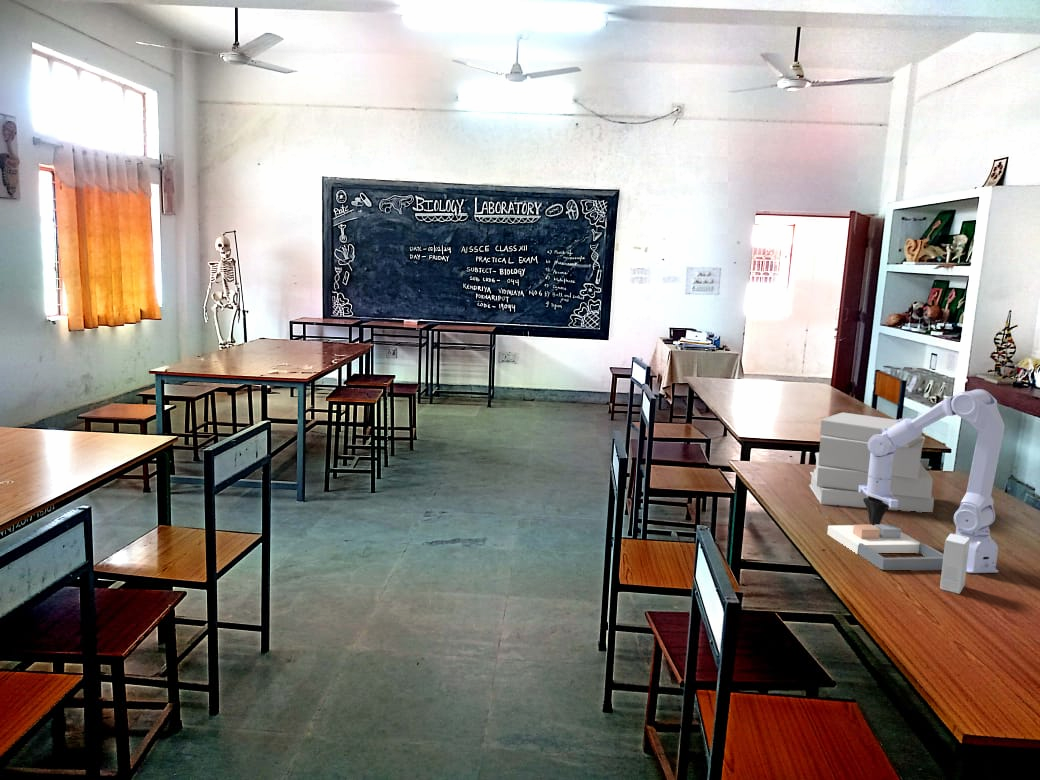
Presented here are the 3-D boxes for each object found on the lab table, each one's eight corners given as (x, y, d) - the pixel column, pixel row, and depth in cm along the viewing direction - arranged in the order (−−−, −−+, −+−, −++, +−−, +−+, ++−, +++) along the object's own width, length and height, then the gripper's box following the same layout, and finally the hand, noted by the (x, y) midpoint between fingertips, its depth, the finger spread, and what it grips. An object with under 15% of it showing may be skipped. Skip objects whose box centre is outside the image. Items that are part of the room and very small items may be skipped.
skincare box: (944, 581, 177) (950, 532, 175) (964, 586, 175) (970, 537, 173) (938, 589, 173) (944, 539, 171) (959, 594, 170) (966, 544, 168)
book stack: (941, 518, 225) (952, 435, 221) (818, 508, 231) (826, 427, 227) (911, 490, 254) (919, 416, 250) (802, 482, 261) (809, 409, 256)
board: (922, 553, 195) (923, 544, 195) (857, 554, 193) (858, 545, 193) (887, 533, 210) (888, 524, 209) (827, 534, 208) (828, 525, 207)
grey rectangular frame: (949, 569, 184) (950, 558, 184) (882, 571, 182) (883, 559, 182) (921, 553, 195) (922, 542, 194) (857, 554, 193) (859, 543, 192)
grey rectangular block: (900, 538, 199) (901, 529, 198) (882, 538, 198) (883, 529, 198) (891, 533, 203) (892, 524, 202) (873, 533, 202) (874, 524, 202)
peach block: (878, 538, 198) (879, 529, 198) (861, 538, 197) (862, 529, 197) (870, 533, 202) (871, 524, 201) (852, 533, 201) (853, 524, 201)
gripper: (910, 484, 197) (905, 533, 199) (876, 469, 211) (871, 515, 214) (886, 484, 196) (880, 534, 198) (853, 470, 210) (849, 516, 213)
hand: (874, 524), depth 206 cm, fingers closed
